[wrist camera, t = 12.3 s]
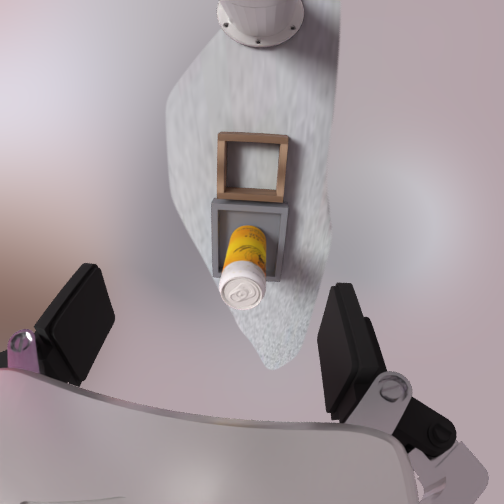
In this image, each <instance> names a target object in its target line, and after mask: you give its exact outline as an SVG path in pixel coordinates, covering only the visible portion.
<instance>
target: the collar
mask: <svg viewBox="0 0 504 504" xmlns="http://www.w3.org/2000/svg"><path fill="white" fill-rule="evenodd" d="M227 141H242V142H261V143H276V144H280V148H279V161H278V174H277V186H276V190H270V189H255V188H237V187H226V174H227ZM287 150H288V136H287V135H278V134H264V133H245V132H220V133H219V134H218V150H217V199H232V200H250V201H265V202H280V203H283V195H284V184H285V173H286V162H287Z"/></svg>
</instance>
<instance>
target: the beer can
mask: <svg viewBox="0 0 504 504" xmlns="http://www.w3.org/2000/svg"><path fill="white" fill-rule="evenodd" d="M219 291H220V294H221V297H222V299H223V301H224V302H225V303H226V304H227V305H228V306H230V307H232V308H234V309H237V310H248V309H252V308H254V307H255V306H257V305H258V304H259V303H260V301H261V300H262V298H263V297H264V295H265V291H266V237H265V235H264V233H263V232H262V231H261V230H260V229H259V228H257V227H255V226H250V225H245V226H241V227H239V228H237V229H236V230H235V231H234V232H233V233H232V235H231V238H230V242H229V246H228V250H227V254H226V258H225V262H224V266H223V271H222V275H221V279H220V283H219Z"/></svg>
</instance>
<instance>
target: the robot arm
mask: <svg viewBox="0 0 504 504" xmlns="http://www.w3.org/2000/svg"><path fill="white" fill-rule="evenodd" d="M217 18H218V22H219V24H220V26H221V28H222V29H223V31H224V32H225V33H226V34H227V35H228V36H229V37H230V38H232V39H233V40H235V41H236V42H239V43H241V44H243V45H247V46H251V47H270V46H275V45H278V44H281V43H283V42H285V41H287V40H288V39H290V38H291V37H292V36H293V35H294V34H296V32H297V31H298V29H299V28H300V26H301V24H302V21H303V18H304V8H303V4H302V1H301V0H219V3H218V7H217ZM226 25H228V27H225V26H226ZM291 28H294V30H291ZM258 41H260V44H257V42H258ZM114 321H115V314H114V311H113V308H112V305H111V302H110V299H109V296H108V293H107V289H106V286H105V283H104V279H103V276H102V272H101V269H100V268H98V266H97V265H96V264H89V263H84V264H82V265H81V267H80V268H79V269H78V270H77V271H76V272H75V274H74V275H73V276H72V278H70V280H69V281H68V282H67V283H66V285H65V286H64V287H63V289H62V290H61V291H60V292H59V293H58V295H57V296H56V297H55V299H54V300H53V301H52V302H51V304H50V305H49V306H48V308H47V309H46V311H45V312H44V313H43V315H42V316H41V317H40V319H39V320H38V322H37V323H36V324H35V326H34V327H35V329H36V331H35V333H33V332H32V331H31V330H29V329H23V330H19V331H17V332H16V333H14V334H13V335H12V336H11V338H10V339H9V341H8V346H7V347H8V349H7V350H6V351H3V352H0V504H474V503H475V501H476V500H477V498H479V496H480V495H481V494H482V493H483V491H484V490H485V488H486V486H487V484H488V480H489V477H488V472H487V470H486V469H485V468H484V467H483V465H482V464H481V463H480V462H479V461H478V459H477V458H476V457H475V456H474V455H473V454H472V452H471V451H470V450H469V449H468V448H467V447H466V446H465V445H464V444H463V442H462V441H461V442H459V443H458V441H457V440H456V430H455V427H454V425H453V424H452V422H451V421H449V420H448V419H447V418H445V417H444V416H442V415H440V414H439V413H437V412H435V411H434V410H432V409H431V408H429V407H428V406H426V405H424V404H423V403H421V402H420V401H418V400H416V399H415V398H413V397H412V386H411V384H410V382H409V381H408V379H407V378H406V377H404V376H403V375H402V374H400V373H397V372H392V371H388V372H387V369H386V366H385V363H384V359H383V356H382V353H381V350H380V347H379V344H378V341H377V338H376V335H375V332H374V329H373V326H372V323H371V321H370V319H369V318H368V317H363V314H362V311H361V308H360V305H359V302H358V299H357V296H356V294H355V291H354V288H353V285H352V284H351V283H337V284H336V286H332V287H331V289H330V293H329V296H328V300H327V304H326V308H325V311H324V315H323V318H322V322H321V326H320V329H319V332H318V337H317V343H318V350H319V357H320V364H321V372H322V380H323V388H324V397H325V406H326V412H327V413H331V419H332V420H339V421H340V423H319V422H318V423H316V422H274V421H255V420H241V419H230V418H220V417H211V416H203V415H197V414H190V413H184V412H177V411H172V410H166V409H160V408H156V407H151V406H146V405H142V404H137V403H133V402H129V401H125V400H121V399H117V398H113V397H109V396H106V395H102V394H99V393H95V392H92V391H89V390H85V389H82V388H79V387H80V384H81V382H82V381H84V380H85V379H86V377H87V375H88V373H89V371H90V369H91V367H92V365H93V363H94V361H95V359H96V357H97V355H98V353H99V351H100V349H101V347H102V345H103V343H104V341H105V339H106V337H107V335H108V333H109V331H110V329H111V328H112V325H113V323H114ZM68 382H69V384H67V383H68ZM70 384H72V385H70ZM73 385H75V386H73ZM76 386H78V387H76ZM413 471H415V472H416V473H417V475H418V476H419V478H418V480H419V481H420V482H421V484H422V486H423V488H424V495H423V498H422V500H421V501H420V502H419V498H418V491H417V485H416V481H415V476H414V472H413Z"/></svg>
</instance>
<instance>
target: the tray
mask: <svg viewBox="0 0 504 504" xmlns="http://www.w3.org/2000/svg"><path fill="white" fill-rule="evenodd" d="M287 217H288V203H287V202H283V203H280V202H265V201H250V200H232V199H217V198H214V199H213V201H212V203H211V224H212V267H213V277H217V278H221V275H222V271H223V266H224V262H225V258H226V254H227V250H228V246H229V242H230V238H231V235H232V233H233V232H234V231H235V230H236V229H237V228H239V227H241V226H245V225H250V226H255V227H257V228H259V229H260V230H261V231H262V232H263V233H264V235H265V237H266V281H275V282H280V277H281V269H282V261H283V253H284V244H285V236H286V227H287Z"/></svg>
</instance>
